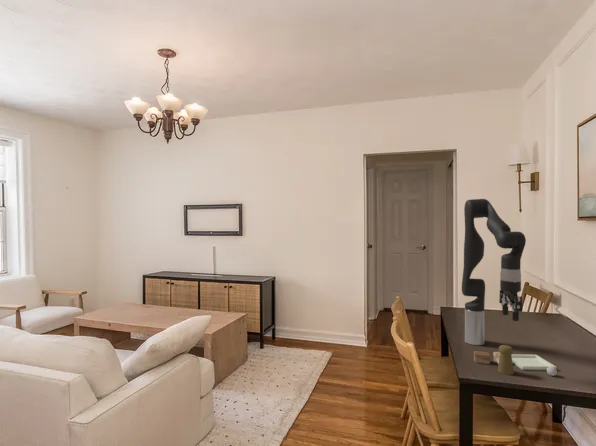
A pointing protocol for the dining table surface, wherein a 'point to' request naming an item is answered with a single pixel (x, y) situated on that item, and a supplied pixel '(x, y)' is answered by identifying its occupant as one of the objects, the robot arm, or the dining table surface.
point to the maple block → (496, 357)
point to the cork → (505, 360)
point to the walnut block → (481, 357)
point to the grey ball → (551, 371)
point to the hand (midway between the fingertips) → (510, 317)
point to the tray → (530, 362)
